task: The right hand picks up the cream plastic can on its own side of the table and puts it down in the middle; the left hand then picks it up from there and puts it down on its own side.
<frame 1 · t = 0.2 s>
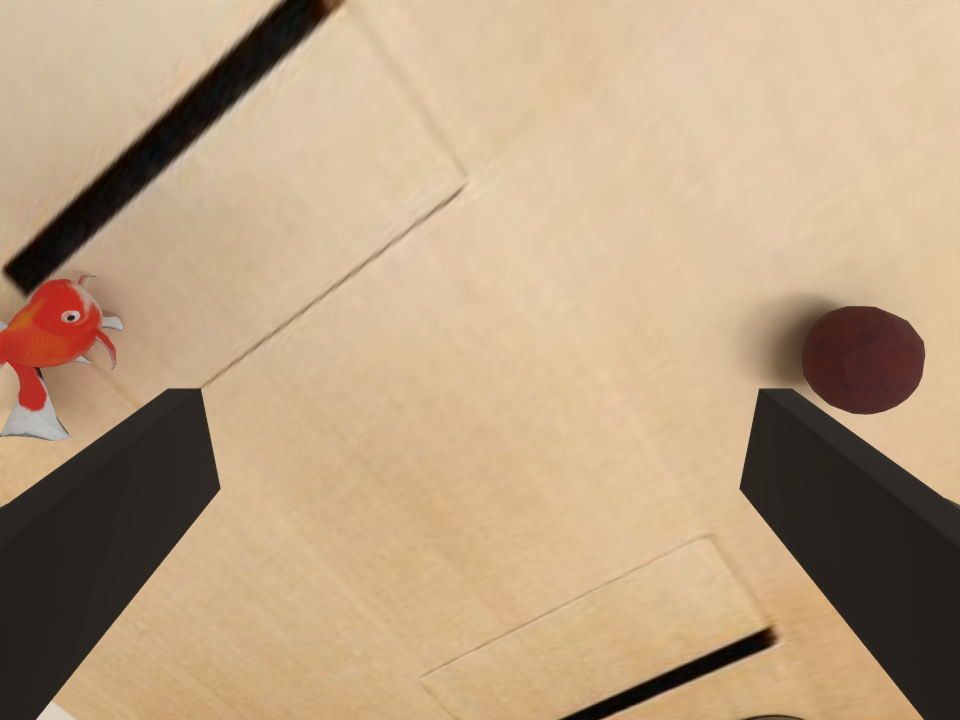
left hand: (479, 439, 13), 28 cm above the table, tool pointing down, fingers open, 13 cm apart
fish: (80, 345, 41), on the table
dark maroon ball: (828, 342, 41), on the table
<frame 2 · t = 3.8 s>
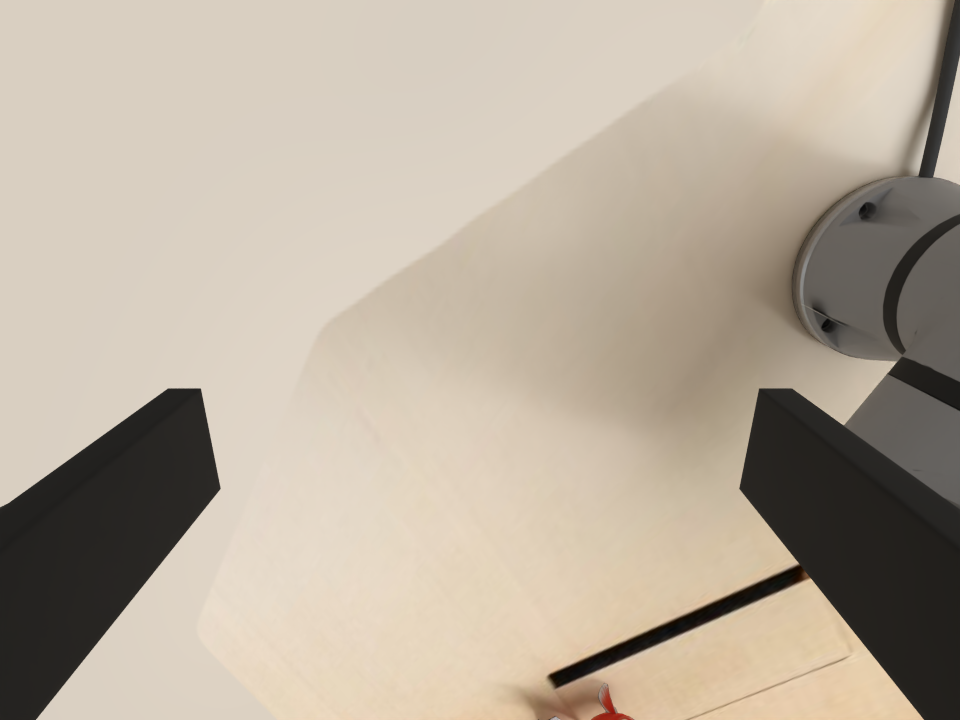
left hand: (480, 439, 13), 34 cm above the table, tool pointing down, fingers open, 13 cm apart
fish: (576, 713, 65), on the table
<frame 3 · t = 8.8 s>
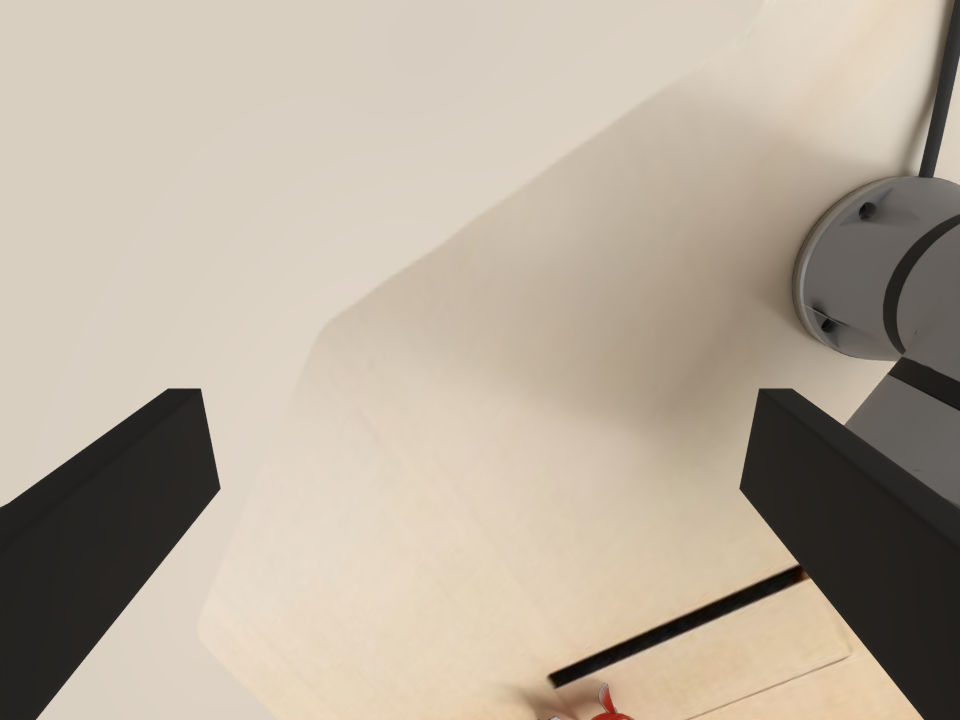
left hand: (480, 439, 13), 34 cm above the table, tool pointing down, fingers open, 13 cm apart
fish: (576, 713, 65), on the table
when the right hand's fingers open (3 cm above the table, at t = 14.1 s): can stays where it is, on the table.
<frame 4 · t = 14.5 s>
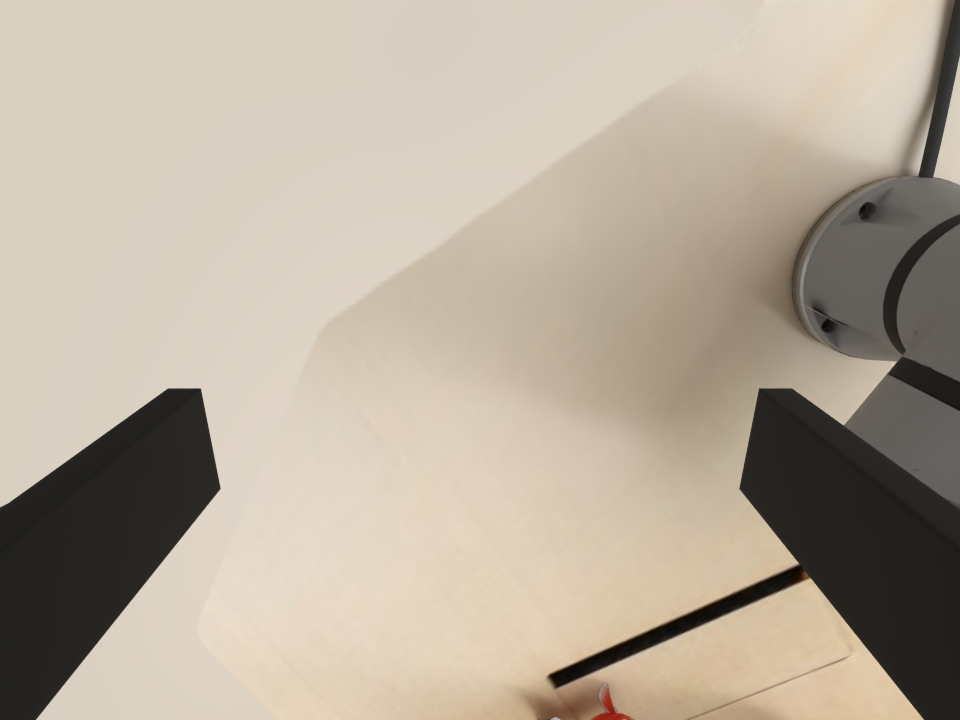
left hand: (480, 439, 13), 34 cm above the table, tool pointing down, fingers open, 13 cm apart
fish: (576, 713, 65), on the table
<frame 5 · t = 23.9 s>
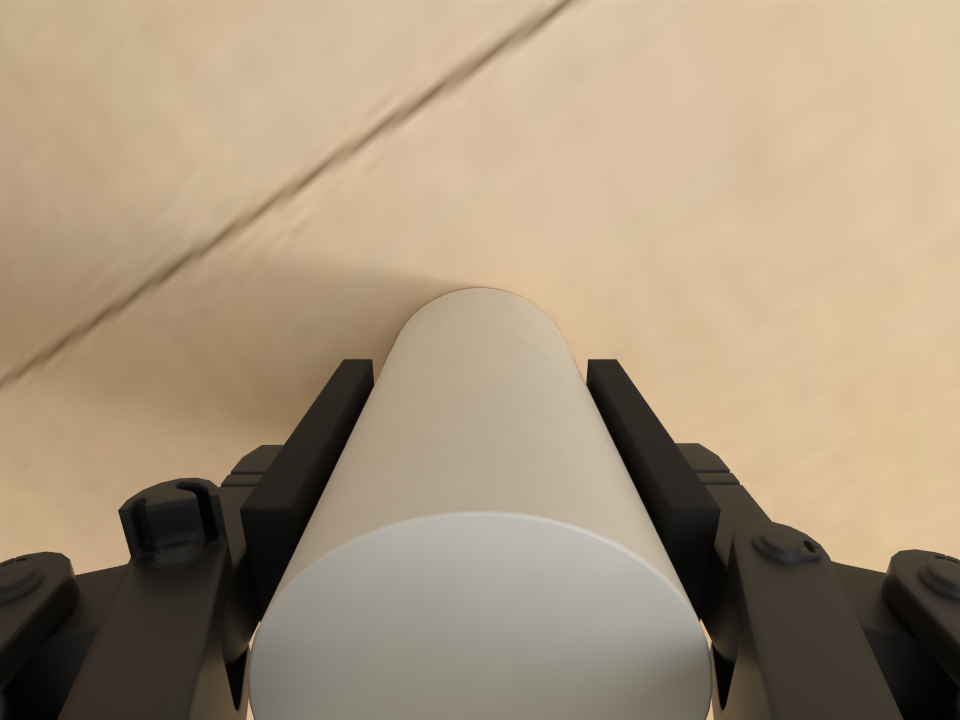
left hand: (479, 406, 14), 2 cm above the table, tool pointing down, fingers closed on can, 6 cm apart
can: (480, 377, 17), on the table, touching left hand
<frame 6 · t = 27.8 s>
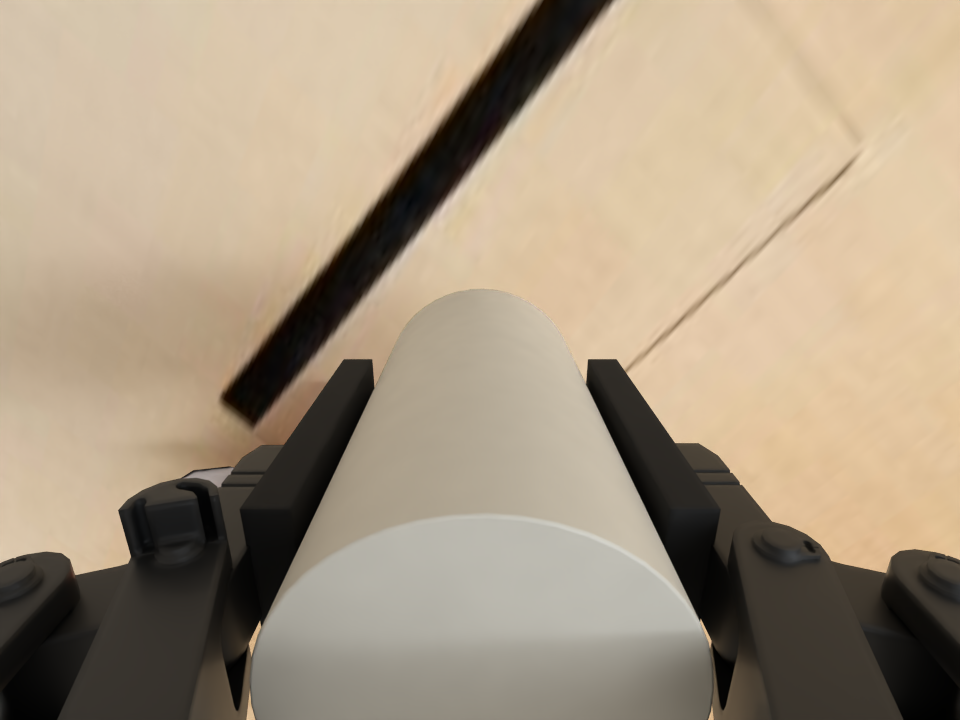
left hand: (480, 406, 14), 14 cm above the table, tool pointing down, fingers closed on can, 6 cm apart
can: (480, 378, 17), point 12 cm above the table, touching left hand
fish: (325, 475, 31), on the table
when the left hand's fingers open (3 cm above the table, at t = 31.8 s): can stays where it is, on the table.
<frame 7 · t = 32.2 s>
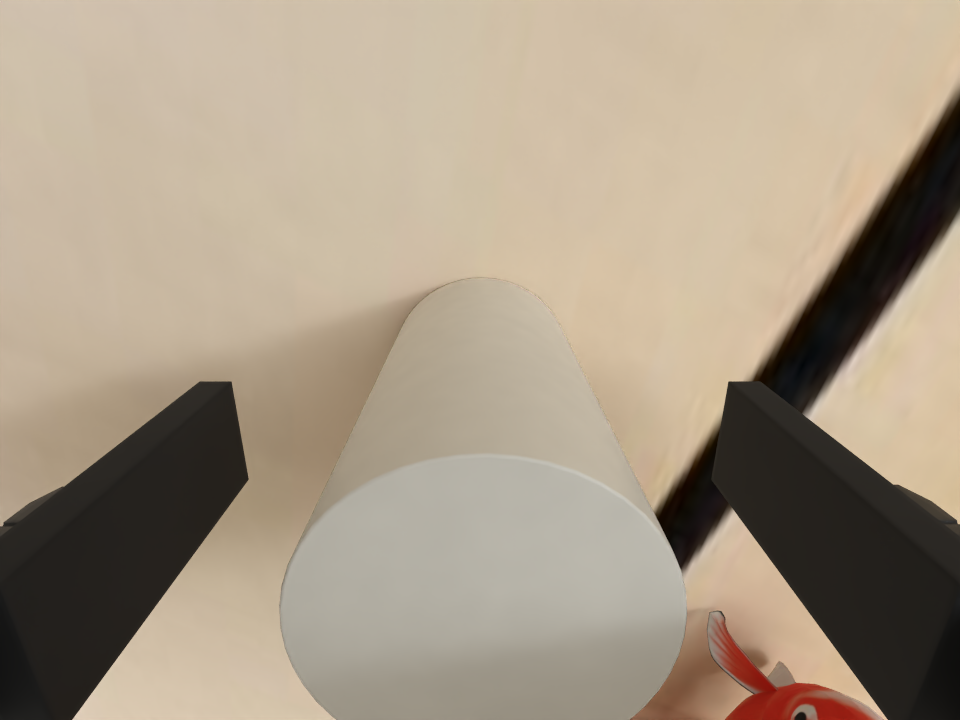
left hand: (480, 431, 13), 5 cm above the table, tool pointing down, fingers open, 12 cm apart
can: (481, 362, 18), on the table
fish: (697, 714, 23), on the table
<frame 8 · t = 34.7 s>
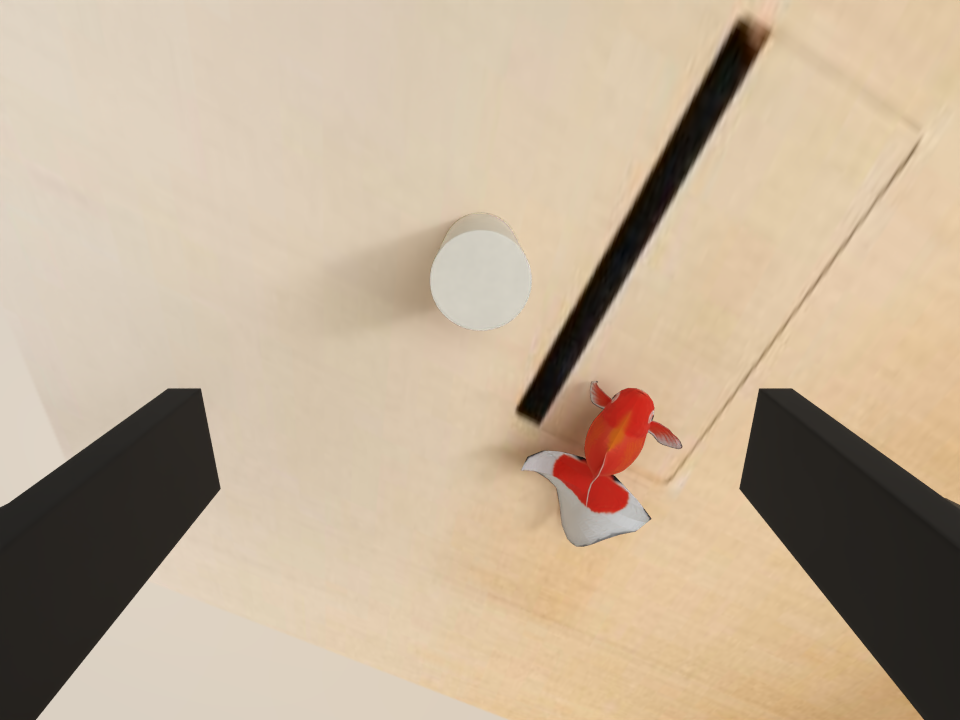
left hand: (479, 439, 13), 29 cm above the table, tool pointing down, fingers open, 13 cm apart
can: (480, 252, 40), on the table
fish: (591, 445, 46), on the table
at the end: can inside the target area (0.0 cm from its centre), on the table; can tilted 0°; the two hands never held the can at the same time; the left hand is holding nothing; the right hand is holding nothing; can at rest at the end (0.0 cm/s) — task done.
